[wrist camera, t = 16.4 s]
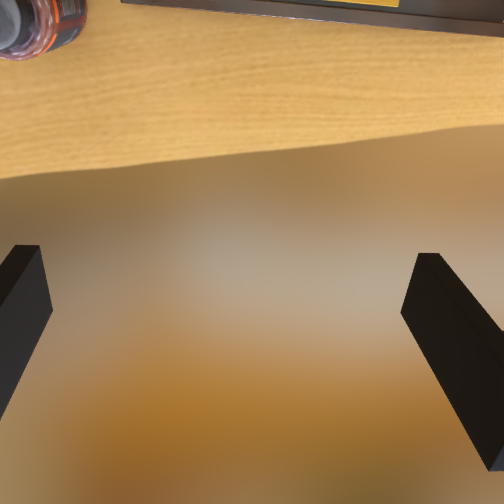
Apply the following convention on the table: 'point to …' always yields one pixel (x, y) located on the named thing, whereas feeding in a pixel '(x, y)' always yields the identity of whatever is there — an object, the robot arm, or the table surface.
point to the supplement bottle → (38, 26)
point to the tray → (374, 2)
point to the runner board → (366, 13)
